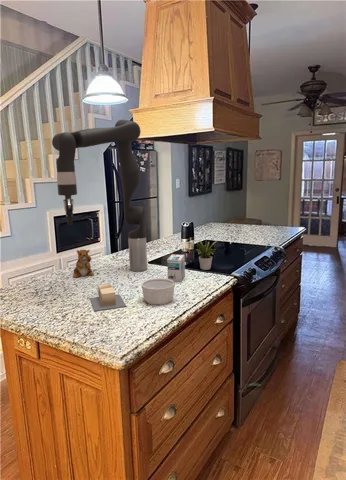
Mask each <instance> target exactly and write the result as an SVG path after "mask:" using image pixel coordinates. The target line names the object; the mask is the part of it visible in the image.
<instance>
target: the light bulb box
mask: <svg viewBox="0 0 346 480" xmlns="http://www.w3.org/2000/svg"><path fill="white" fill-rule="evenodd" d="M185 255H186V254H171V255H170V256H169V257H168V258H167V259H166V260H167V265H166V267H167V279H169V280H172V281H174V283H182V282H183V280H184V278H185V277H186V269H185V268H186V266H185V265H186V258H185V257H186V256H185Z"/></svg>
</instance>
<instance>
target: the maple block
mask: <svg viewBox="0 0 346 480" xmlns="http://www.w3.org/2000/svg"><path fill="white" fill-rule="evenodd" d="M97 292H98V293H97V294H98V296H97V297H99V299H100V301H101V304H102V306H103V307H104V306H111V305H116V298H115V295H116V291H115V290H114V288H113V286H112V284H111V283H110V282H109V283H100V284H97Z"/></svg>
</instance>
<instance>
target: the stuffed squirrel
mask: <svg viewBox="0 0 346 480" xmlns="http://www.w3.org/2000/svg"><path fill="white" fill-rule="evenodd" d="M90 251H91V250H90V249H88V250H87V249H80V250H78V249H77V250H76V254H77V255H78V256H77V258H78V259H77V261H76V264H75V267H74V269H73V276H72V277H73V278H74V279H77V278H78V277H86V276H89V277H93V276H94V275H95V274H94V272H93V270H92V269H91V263H90V262H91V260H92V257H91V255H89V253H90Z"/></svg>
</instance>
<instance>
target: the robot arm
mask: <svg viewBox="0 0 346 480" xmlns="http://www.w3.org/2000/svg"><path fill="white" fill-rule="evenodd" d="M114 125H115V126H112V127H93V128H85V129H79V130H77V131H72V132H71V131H70V132H69V131H68V132H66V131H65V132H60V133H57V134H56V135H54V136H53V137H52V140H51V145H52V146H53V148H54V149H55V150H56V151H59V152H58V157H57V159H56V183H57V184H56V185H57V195H58V196H64V199H62V202H63V207H64V211H65V217H66V224H67V226H73V225H74V222H73V216H74V212H73V211H74V199H72V196H76V195H78V188H77V176H76V170H75V169H76V167H75V158H76V151H77V150H76V149H79V148H88V147H95V146H98V145H104V144H110V143H116V147H117V148H116V149H117V152H118V160H119V171H120V179H121V187H122V196H123V213H124V215H123V216H124V221H125V223H126V224H127V225H130V226H131V225H132V226H133V225H139V226H138V227H137V228H136V229H133V230H131V231H129V232H128V233H127V235H128V236H127V238H128V258H129V260H128V261H129V271H131V272H144V271H147V270H148V255H147V253H148V251H147V248H148V247H147V227H146V226H147V225H146V224H147V222H146V221H147V211H146V208H145V206H132V205H131V203H132V200H133V197H134V195H135V193H136V191H137V190H138V188H139V186H140V184H141V173H140V172H141V171H140V167H139V164H138V161H137V160H136V157H135V155H134V152H133V150H132V143H133V142H135V141H137V140H138V139H139V138H140V135H141V127H140V125H139V124H138V123H137V122H135V121H133V120H127V119H119V120H117V121H116V123H115V124H114ZM131 142H132V143H131Z"/></svg>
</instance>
